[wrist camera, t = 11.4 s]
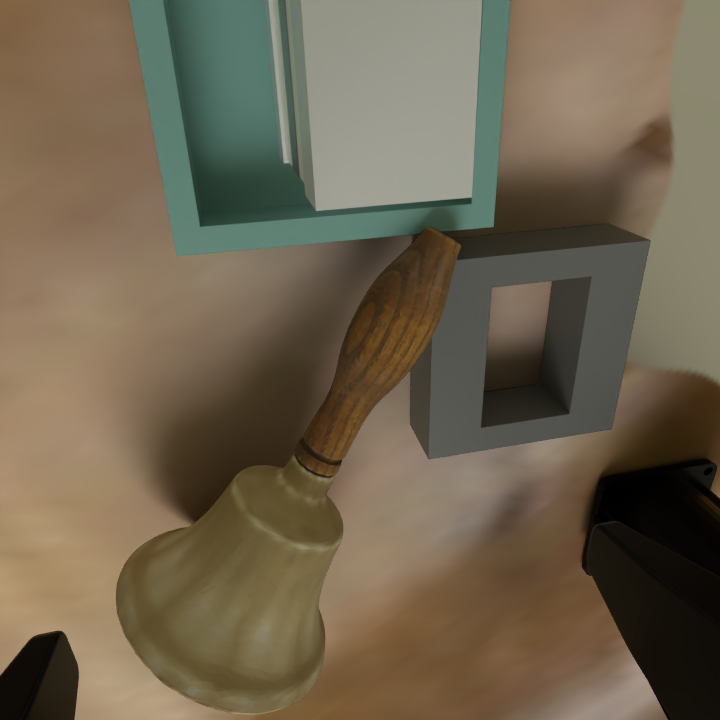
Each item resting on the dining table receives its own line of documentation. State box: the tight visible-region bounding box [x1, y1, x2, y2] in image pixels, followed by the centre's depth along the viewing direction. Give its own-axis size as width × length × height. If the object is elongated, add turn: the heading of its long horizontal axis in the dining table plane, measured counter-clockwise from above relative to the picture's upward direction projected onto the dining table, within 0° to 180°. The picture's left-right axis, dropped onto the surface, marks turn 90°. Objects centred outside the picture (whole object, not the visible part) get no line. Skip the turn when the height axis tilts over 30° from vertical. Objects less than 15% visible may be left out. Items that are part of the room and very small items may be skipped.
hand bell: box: [116, 226, 461, 715], centre depth 20 cm, size 8×8×16 cm
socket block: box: [410, 224, 650, 459], centre depth 22 cm, size 8×8×2 cm
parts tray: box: [129, 0, 511, 256], centre depth 16 cm, size 10×10×2 cm
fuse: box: [264, 0, 482, 211], centre depth 14 cm, size 3×5×8 cm, turn 2°
